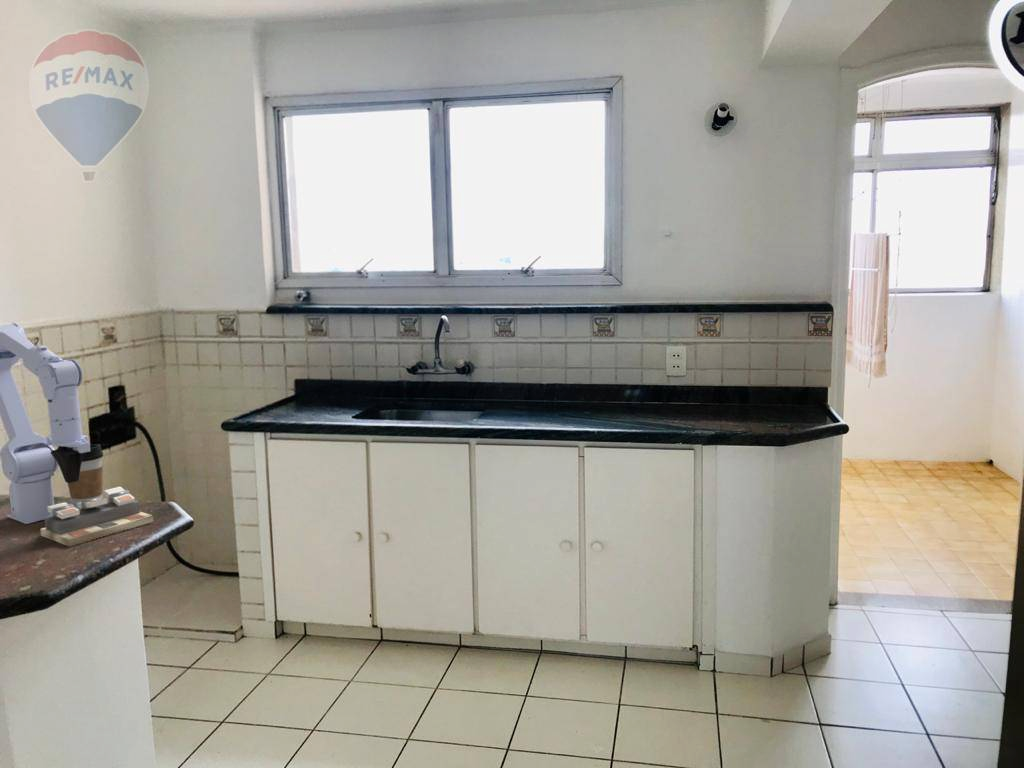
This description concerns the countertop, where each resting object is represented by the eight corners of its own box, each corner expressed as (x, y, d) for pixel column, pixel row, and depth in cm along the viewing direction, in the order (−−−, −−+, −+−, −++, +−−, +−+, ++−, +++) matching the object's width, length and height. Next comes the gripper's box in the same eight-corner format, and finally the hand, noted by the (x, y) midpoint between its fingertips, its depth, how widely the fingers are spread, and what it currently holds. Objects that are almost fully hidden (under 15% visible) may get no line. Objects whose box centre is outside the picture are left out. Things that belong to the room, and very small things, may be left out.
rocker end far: (103, 496, 181) (103, 488, 180) (120, 491, 184) (120, 484, 183) (118, 507, 178) (118, 500, 177) (134, 503, 181) (135, 496, 180)
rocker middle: (77, 509, 176) (75, 501, 176) (94, 505, 179) (93, 496, 179) (90, 509, 173) (89, 501, 172) (108, 504, 176) (107, 496, 175)
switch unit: (41, 535, 172) (38, 517, 171) (124, 512, 186) (122, 495, 186) (69, 546, 165) (67, 527, 164) (153, 522, 179) (151, 504, 179)
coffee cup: (91, 516, 184) (84, 451, 182) (59, 515, 186) (51, 450, 183) (116, 505, 192) (110, 442, 190) (85, 503, 194) (78, 441, 191)
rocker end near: (47, 513, 171) (46, 504, 171) (65, 508, 174) (65, 500, 174) (61, 521, 168) (61, 512, 168) (80, 516, 171) (79, 508, 171)
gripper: (101, 418, 171) (108, 482, 173) (67, 412, 180) (74, 472, 182) (67, 424, 166) (74, 490, 168) (33, 417, 174) (40, 479, 176)
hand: (72, 481), depth 174 cm, fingers closed
